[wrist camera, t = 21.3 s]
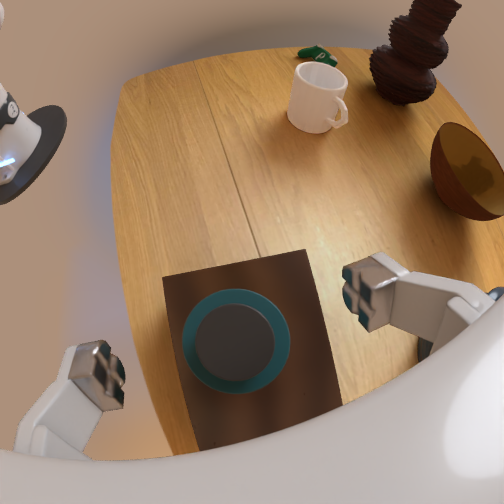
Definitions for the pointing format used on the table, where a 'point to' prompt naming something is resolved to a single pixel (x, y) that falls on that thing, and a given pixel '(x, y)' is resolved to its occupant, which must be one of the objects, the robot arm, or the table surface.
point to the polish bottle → (236, 341)
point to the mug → (317, 98)
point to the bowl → (467, 173)
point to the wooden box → (293, 373)
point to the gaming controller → (318, 55)
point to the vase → (413, 52)
